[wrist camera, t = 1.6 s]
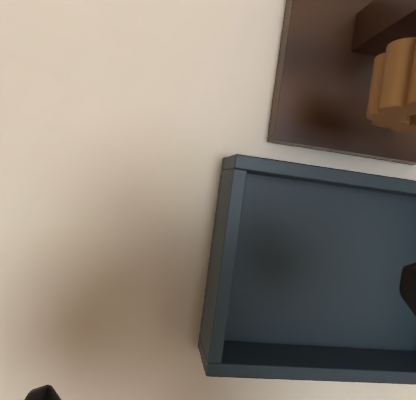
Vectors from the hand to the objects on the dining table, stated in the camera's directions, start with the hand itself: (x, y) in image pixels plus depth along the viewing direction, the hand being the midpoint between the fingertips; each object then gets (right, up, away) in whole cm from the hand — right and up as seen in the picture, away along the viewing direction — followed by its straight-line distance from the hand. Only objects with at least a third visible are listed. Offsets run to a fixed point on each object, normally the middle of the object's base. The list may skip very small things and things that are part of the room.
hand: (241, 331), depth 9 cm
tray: (+7, -1, +16) cm, 17 cm away
